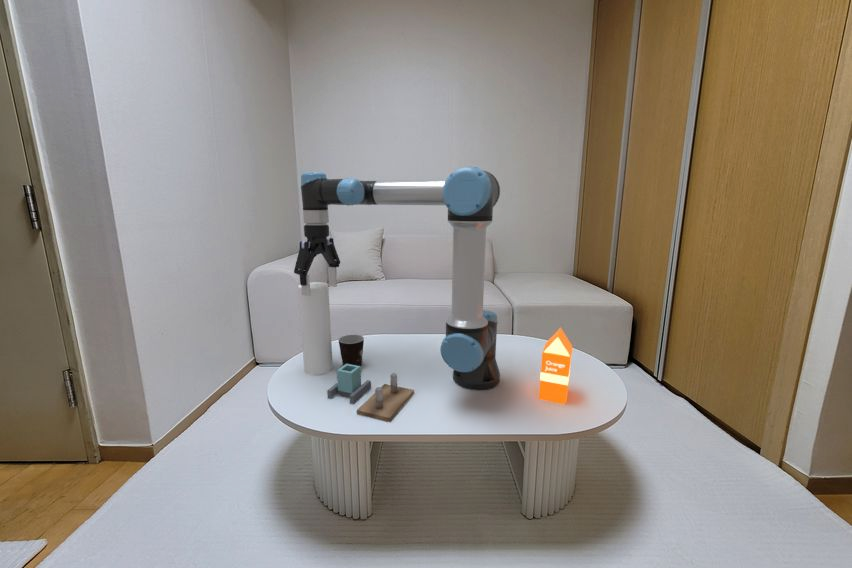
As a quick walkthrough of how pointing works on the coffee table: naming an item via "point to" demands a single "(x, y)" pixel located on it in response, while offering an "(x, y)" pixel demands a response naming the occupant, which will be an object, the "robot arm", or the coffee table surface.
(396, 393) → the pin board
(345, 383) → the sleeve
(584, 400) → the coffee table surface
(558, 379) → the orange juice
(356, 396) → the feeder rails
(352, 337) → the coffee mug
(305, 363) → the cylinder container
